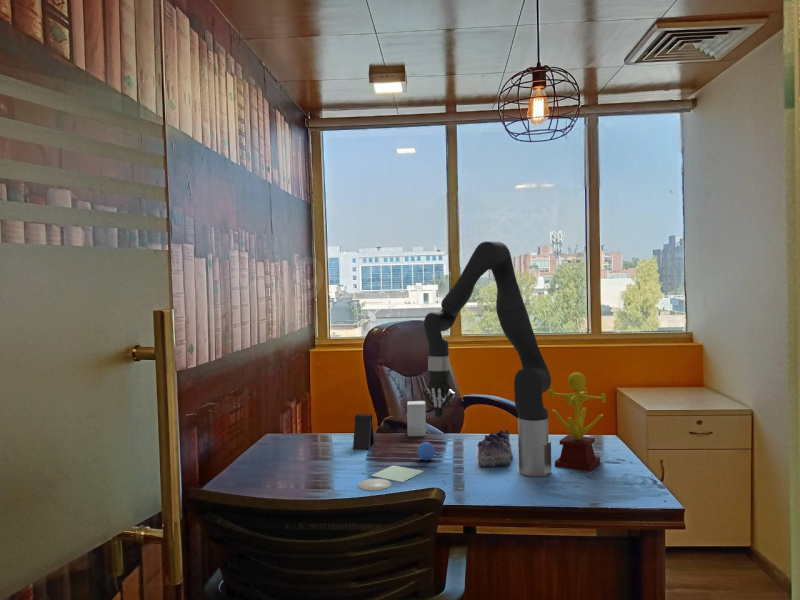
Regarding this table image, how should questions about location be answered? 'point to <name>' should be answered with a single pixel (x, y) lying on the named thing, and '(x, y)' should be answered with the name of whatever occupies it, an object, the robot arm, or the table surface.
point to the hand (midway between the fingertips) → (439, 417)
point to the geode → (495, 450)
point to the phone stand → (363, 432)
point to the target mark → (397, 473)
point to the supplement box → (416, 418)
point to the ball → (426, 451)
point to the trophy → (577, 429)
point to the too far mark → (374, 484)
